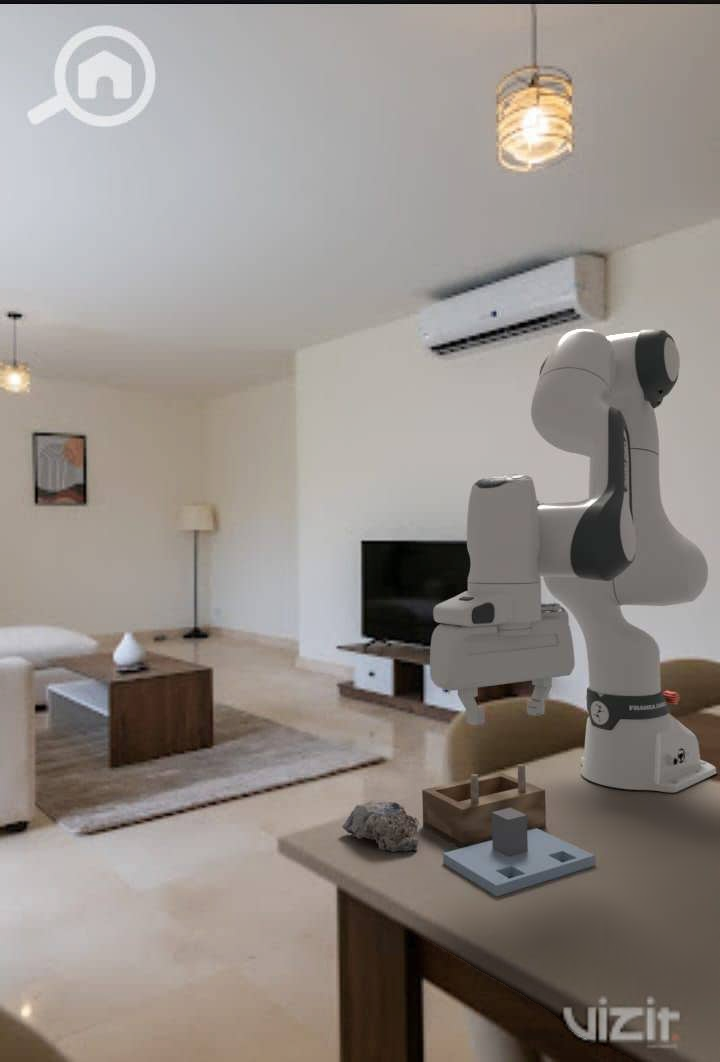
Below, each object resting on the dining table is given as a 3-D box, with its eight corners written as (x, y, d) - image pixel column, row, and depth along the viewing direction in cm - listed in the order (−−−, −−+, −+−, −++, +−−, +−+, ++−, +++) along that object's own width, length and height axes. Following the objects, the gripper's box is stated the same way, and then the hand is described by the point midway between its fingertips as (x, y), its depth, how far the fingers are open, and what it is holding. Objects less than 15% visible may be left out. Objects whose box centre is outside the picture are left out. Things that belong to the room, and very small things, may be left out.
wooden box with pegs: (502, 807, 109) (501, 748, 109) (546, 826, 101) (544, 763, 101) (423, 826, 102) (421, 764, 102) (462, 849, 94) (461, 781, 94)
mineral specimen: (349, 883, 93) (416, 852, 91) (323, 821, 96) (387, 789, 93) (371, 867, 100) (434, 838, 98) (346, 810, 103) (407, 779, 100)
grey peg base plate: (536, 837, 97) (535, 794, 97) (595, 865, 89) (593, 818, 89) (443, 863, 90) (442, 816, 90) (496, 896, 81) (495, 845, 81)
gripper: (549, 600, 99) (551, 704, 99) (421, 608, 89) (423, 724, 89) (585, 603, 93) (587, 713, 93) (453, 612, 84) (455, 735, 83)
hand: (506, 719), depth 91 cm, fingers open, 8 cm apart
